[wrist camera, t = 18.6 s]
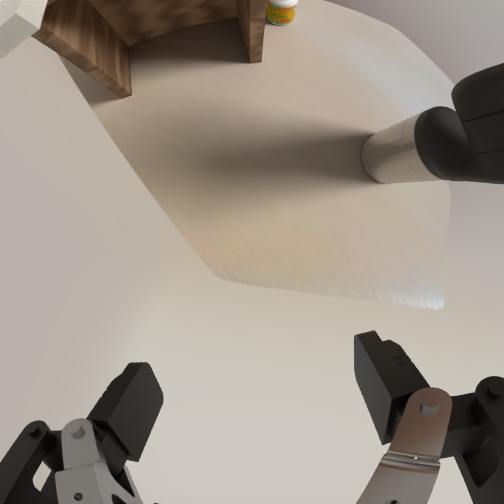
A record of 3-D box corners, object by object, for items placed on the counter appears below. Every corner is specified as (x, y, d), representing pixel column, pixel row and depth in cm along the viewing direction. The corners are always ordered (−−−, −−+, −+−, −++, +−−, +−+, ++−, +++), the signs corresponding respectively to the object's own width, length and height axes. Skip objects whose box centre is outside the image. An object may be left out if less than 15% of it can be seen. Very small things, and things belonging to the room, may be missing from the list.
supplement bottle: (262, 22, 38) (264, -8, 28) (269, 5, 37) (273, -24, 27) (290, 29, 38) (297, 0, 28) (296, 12, 37) (304, -17, 28)
